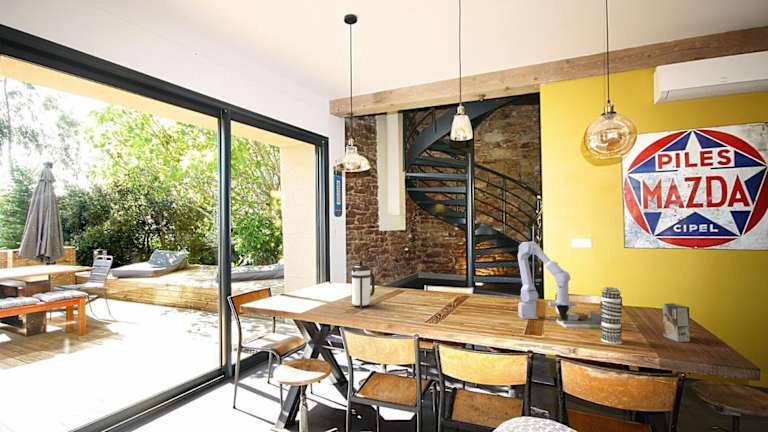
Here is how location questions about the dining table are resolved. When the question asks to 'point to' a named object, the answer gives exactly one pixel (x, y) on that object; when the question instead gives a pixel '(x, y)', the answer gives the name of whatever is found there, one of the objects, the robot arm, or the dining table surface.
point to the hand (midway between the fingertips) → (562, 319)
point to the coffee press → (362, 284)
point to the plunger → (571, 317)
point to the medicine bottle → (568, 306)
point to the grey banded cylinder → (611, 316)
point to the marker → (582, 317)
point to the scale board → (583, 322)
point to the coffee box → (676, 322)
